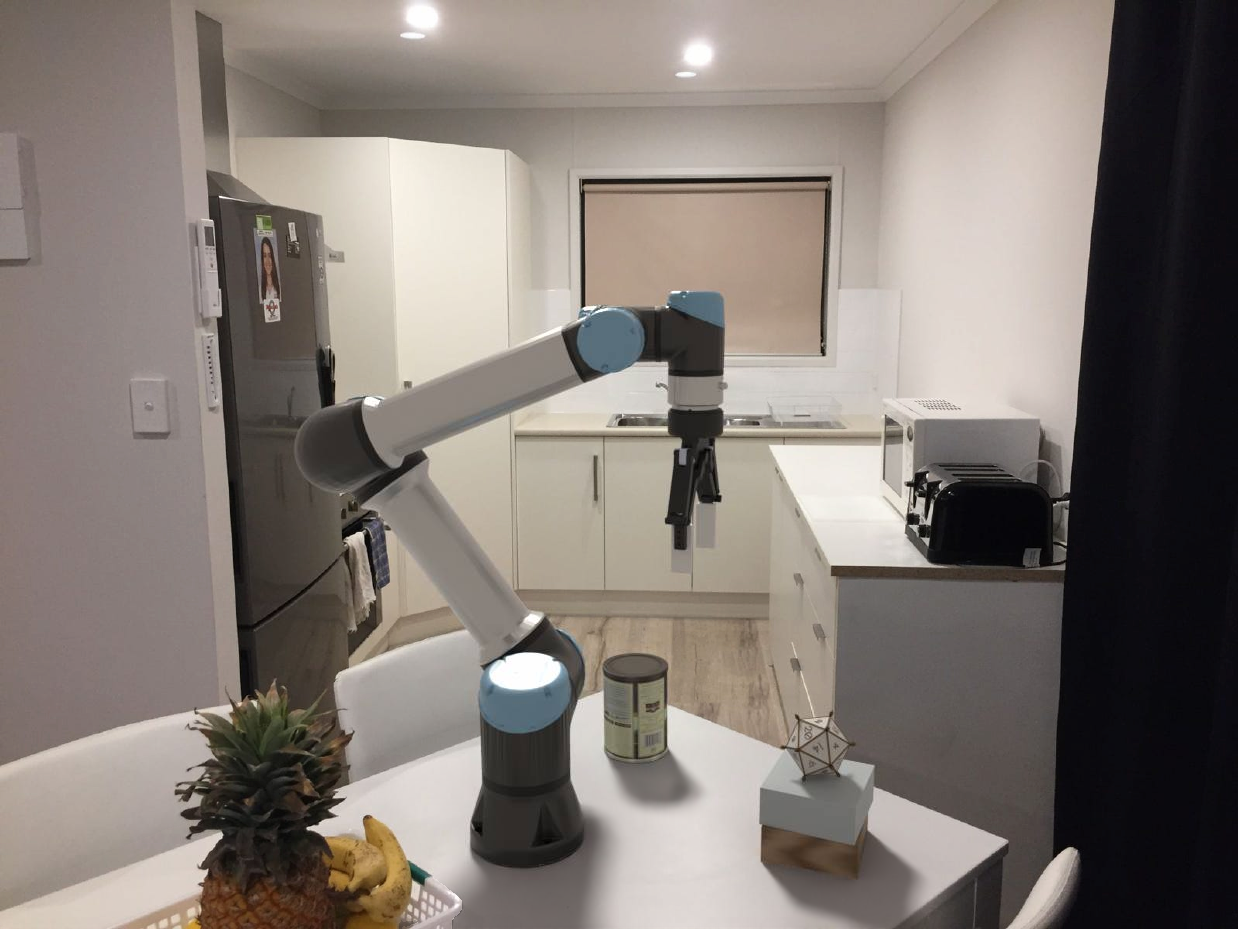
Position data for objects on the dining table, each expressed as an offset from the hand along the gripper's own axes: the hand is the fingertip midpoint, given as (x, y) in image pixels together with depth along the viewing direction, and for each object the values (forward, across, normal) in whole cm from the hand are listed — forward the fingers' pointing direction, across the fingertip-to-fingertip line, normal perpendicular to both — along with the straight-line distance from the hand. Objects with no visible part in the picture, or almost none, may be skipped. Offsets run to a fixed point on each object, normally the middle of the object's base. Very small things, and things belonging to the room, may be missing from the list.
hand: (694, 559), depth 138 cm
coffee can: (+35, +11, +12) cm, 39 cm away
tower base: (+35, -8, -19) cm, 41 cm away
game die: (+25, -8, -18) cm, 32 cm away
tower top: (+30, -8, -19) cm, 36 cm away
